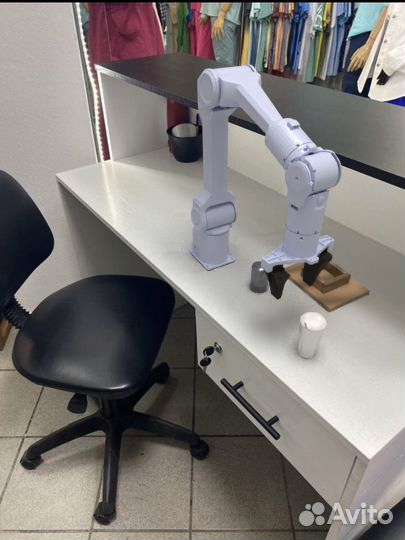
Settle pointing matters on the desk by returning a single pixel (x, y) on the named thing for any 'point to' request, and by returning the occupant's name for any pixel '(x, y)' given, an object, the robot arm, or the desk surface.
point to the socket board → (329, 286)
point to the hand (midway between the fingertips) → (291, 289)
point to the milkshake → (310, 333)
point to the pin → (258, 278)
